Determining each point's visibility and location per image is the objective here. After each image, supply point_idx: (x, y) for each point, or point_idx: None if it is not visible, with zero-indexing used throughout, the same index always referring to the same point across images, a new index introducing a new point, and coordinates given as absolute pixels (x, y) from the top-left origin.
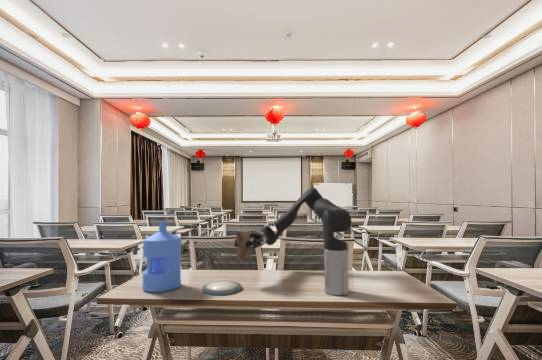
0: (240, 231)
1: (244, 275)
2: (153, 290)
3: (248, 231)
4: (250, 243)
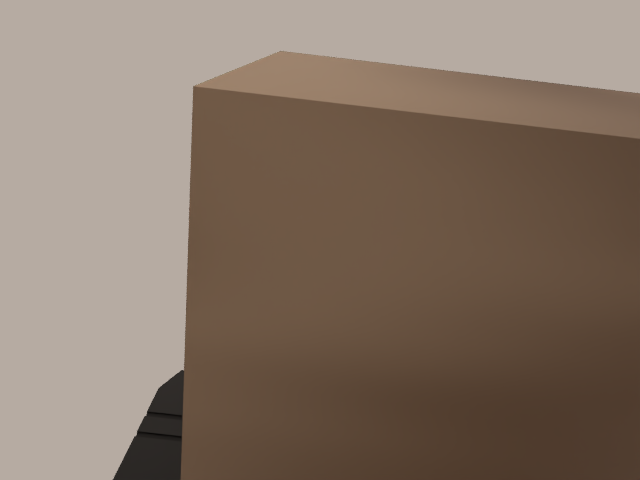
0: (615, 99)
1: None
2: None
3: (248, 65)
4: (125, 476)
